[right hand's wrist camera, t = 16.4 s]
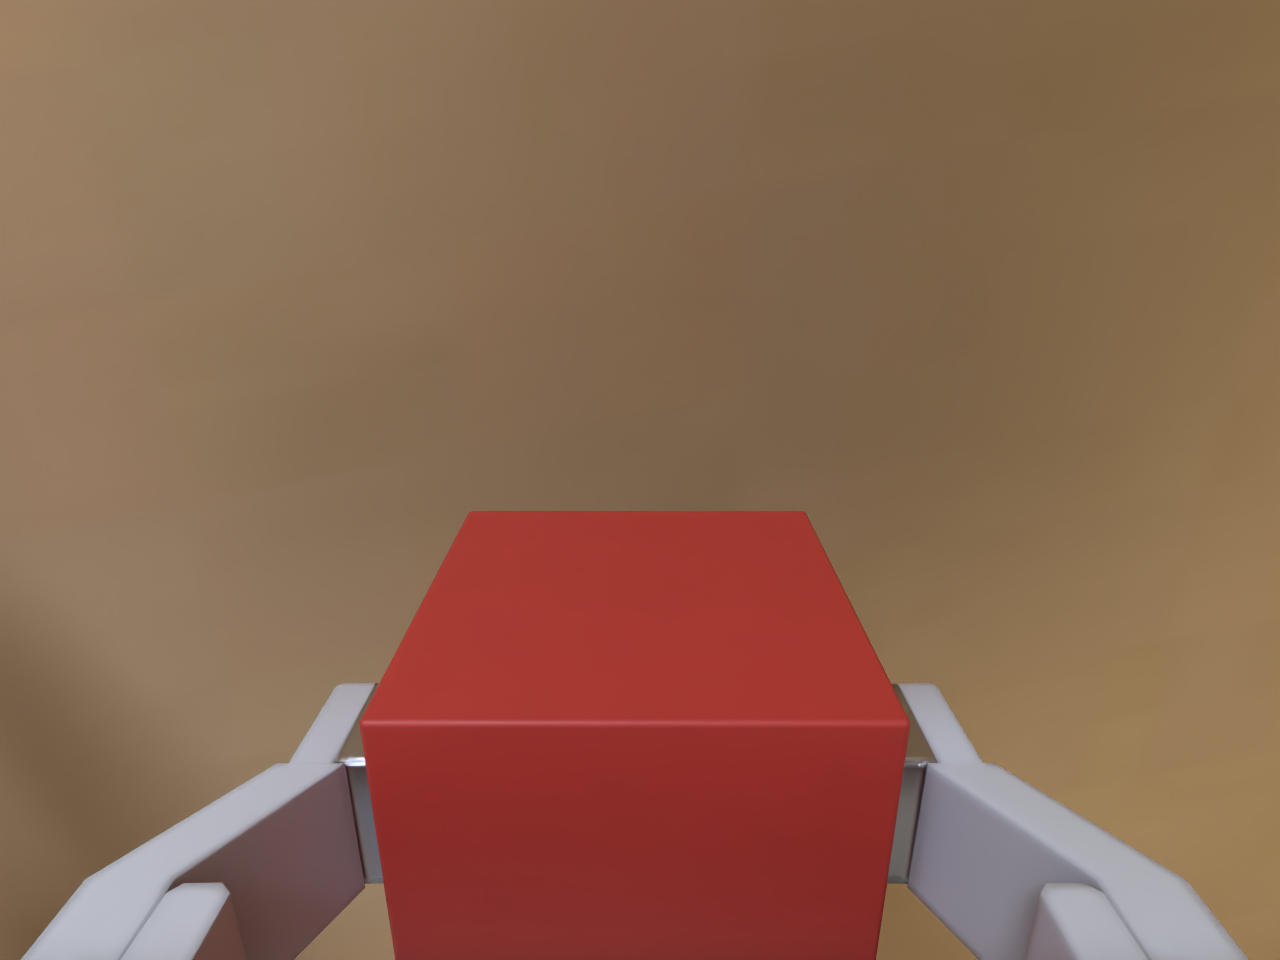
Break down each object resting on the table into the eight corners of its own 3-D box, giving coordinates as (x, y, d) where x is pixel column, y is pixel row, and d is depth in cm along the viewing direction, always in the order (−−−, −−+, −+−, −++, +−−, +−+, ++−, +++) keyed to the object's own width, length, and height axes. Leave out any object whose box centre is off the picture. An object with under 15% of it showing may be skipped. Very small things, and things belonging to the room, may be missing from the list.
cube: (491, 788, 13) (414, 1101, 9) (468, 509, 11) (356, 722, 7) (783, 788, 13) (856, 1101, 9) (805, 509, 11) (913, 722, 7)
